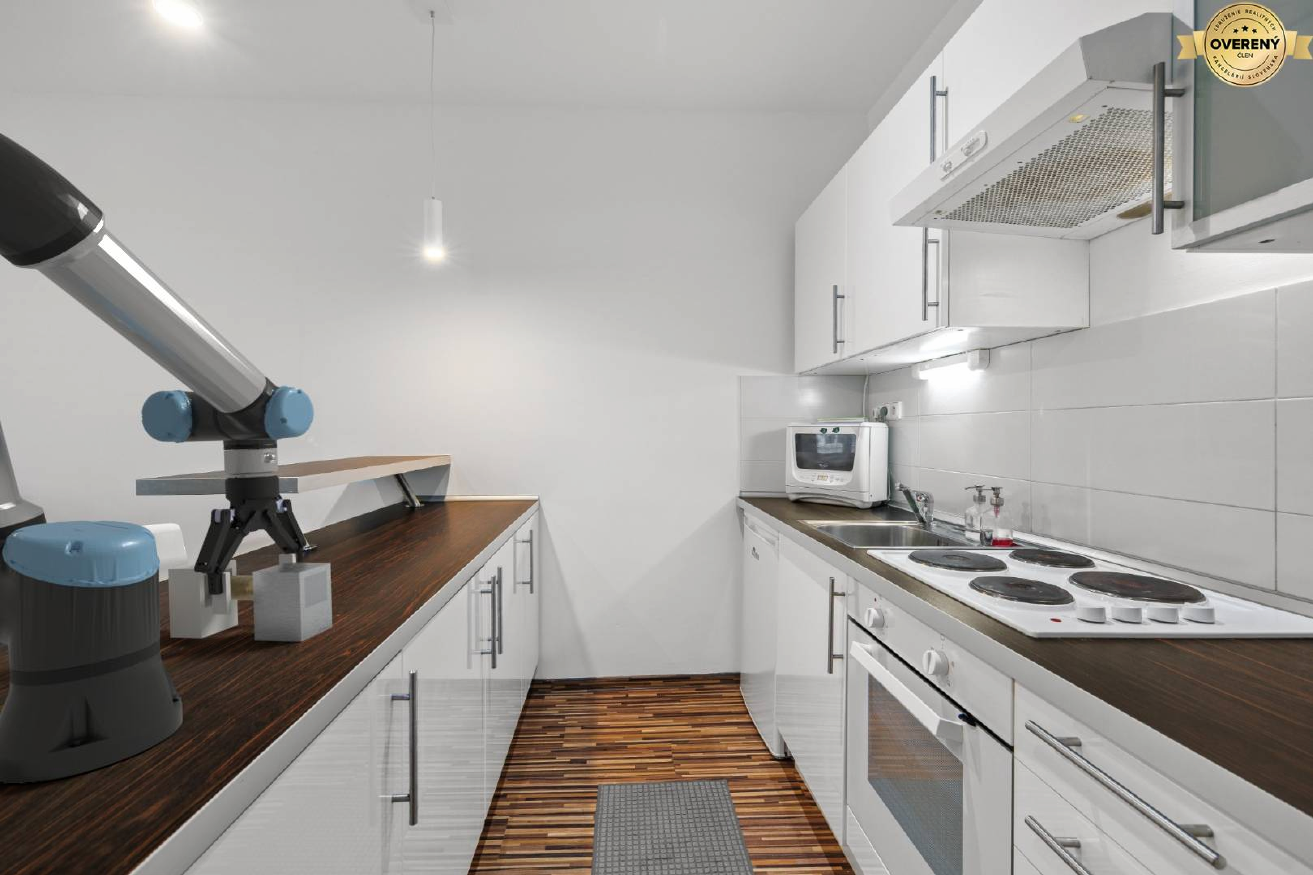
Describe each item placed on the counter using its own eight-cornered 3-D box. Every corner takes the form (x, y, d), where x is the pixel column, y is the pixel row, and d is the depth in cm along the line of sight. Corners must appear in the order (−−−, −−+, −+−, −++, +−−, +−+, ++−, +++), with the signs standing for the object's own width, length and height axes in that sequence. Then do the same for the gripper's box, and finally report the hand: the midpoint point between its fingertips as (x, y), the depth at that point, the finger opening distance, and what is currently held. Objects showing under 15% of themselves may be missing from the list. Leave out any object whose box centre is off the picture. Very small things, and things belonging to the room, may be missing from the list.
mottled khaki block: (317, 597, 101) (316, 573, 101) (299, 604, 97) (298, 579, 97) (244, 596, 103) (243, 572, 103) (224, 602, 99) (223, 578, 99)
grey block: (332, 627, 102) (330, 562, 102) (301, 641, 95) (299, 572, 95) (288, 626, 103) (286, 562, 103) (254, 640, 97) (252, 572, 97)
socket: (238, 624, 105) (235, 560, 105) (201, 638, 98) (199, 569, 98) (208, 623, 106) (206, 559, 106) (170, 637, 99) (168, 568, 99)
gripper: (203, 481, 87) (210, 626, 88) (325, 469, 112) (329, 582, 112) (160, 482, 89) (166, 625, 89) (289, 470, 113) (294, 581, 114)
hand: (257, 601), depth 101 cm, fingers open, 13 cm apart
